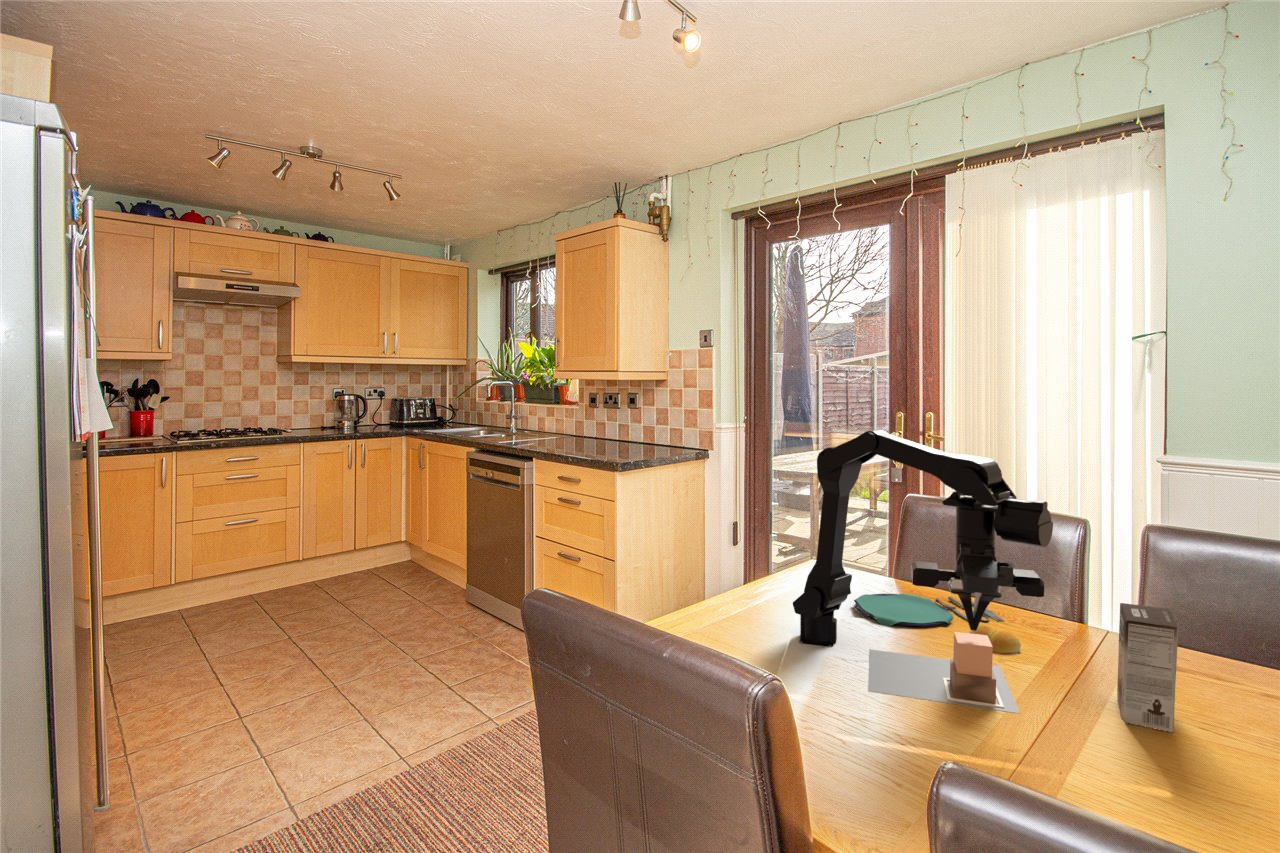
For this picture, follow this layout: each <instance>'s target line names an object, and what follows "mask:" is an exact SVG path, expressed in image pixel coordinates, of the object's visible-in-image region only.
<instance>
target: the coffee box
mask: <svg viewBox="0 0 1280 853" xmlns="http://www.w3.org/2000/svg"><path fill="white" fill-rule="evenodd" d="M1118 624H1119V626H1118V628H1119V629H1118V656H1117V658H1118V661H1117V686H1116V687H1117V689H1116V690H1117V691H1116V692H1117V693H1116V694H1117V696H1116V698H1117V702H1118V707H1119V712H1120V718H1121V720H1122V722H1123V723H1124V722H1125V723H1124V724H1128V723H1130V725H1133V724H1135V725H1134V726H1137V725H1141V726H1140V727H1142V726H1146V727H1145V728H1147V727H1151V728H1150V729H1152V728H1156V729H1160V730H1159V731H1161V730H1165V731H1164V732H1166V731H1169V732H1168V733H1171V732H1173V733H1174V731H1175V730H1174V726H1175V703H1176V700H1175V699H1176V682H1177V681H1176V680H1177V661H1178V642H1179V640H1178V638H1179V626H1178V624H1177V622H1176V620H1175V618H1174V615H1173V614H1172V612H1171V609H1170V608H1164V607H1158V606H1157V607H1156V606H1155V607H1154V606H1149V605H1141V604H1131V603H1123V602H1122V603H1121V602H1120V603H1119V622H1118ZM1156 729H1155V730H1156Z"/></svg>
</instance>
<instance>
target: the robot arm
mask: <svg viewBox="0 0 1280 853" xmlns="http://www.w3.org/2000/svg"><path fill="white" fill-rule="evenodd" d="M876 456H881V457H882V458H886V459H889V460H891V461H894V462H897V463H899V464H901V465H902V464H903V465H905V466H908V467H911V468H914V469H917V470H919V471H922V472H924V473H927V474H930V475H932V476H933V477H935V478H937V479H938V480H939V481H940V482H942V484H944V485H945V486H946V487H949V488H950V489H952V490H954V491H953V492H952V493H951V494H950V496H948V497H947V498H945V499H944V500H942V502H941V503H942V505H943V506H949V507H954V508H955V540H954V542H955V545H954V546H955V549H954V550H955V551H954V569H943V568H939V567H938V563H937V562H931V561H922V560H921V561H918V560H915V561H913V563H911V567H910V568H911V570H910V573H911V574H910V577H911V583H912V585H914V586H915V587H927V588H935V587H936V586H937V585H939V584H940V582H947V585H948V589H949V591H950V594H953V595H957V596H958V598H959V600H960V603H962V604H963V607H964V608H963V607H962V608H963V610H964V613H965V614H964V615H965V616H966V617H967V620H968V621H967V620H966V621H967V623H968V626H969V629H970V630H969V631H971V630H974V631H976V630H977V628H978V625H980V624H981V622H982V621H981V619H982V618H983V614H984V612H985V610H986V609H988V606H989V605H990V603H991V602H992V601H993V600H994V599H1001V598H1002V596H1003V595H1002V592H1001V589H1002V587H1005V588H1015V591H1017V593H1019V595H1021V596H1024V597H1034V598H1035V597H1036V598H1043V597H1045V582H1044V580H1043V579H1042V578H1041V577H1040V575H1039V574H1038V573H1037V572H1036V571H1035V570H1032V569H1031V570H1030V569H1022V568H1021V569H1018V568H1014V566H1013V562H1009V561H997V558H996V536H999V537H1000V539H1002V540H1003V541H1004V542H1011V543H1015V544H1023V545H1029V546H1036V547H1041V548H1046V547H1047V546H1048V545H1049V544H1050V542H1051V539H1052V536H1053V530H1054V521H1053V520H1052V516H1051V513H1050V510H1048V505H1049V504H1048V501H1044V500H1026V499H1025V500H1024V499H1018V497H1017V496H1016V494H1015V492H1014V491H1012V489H1011V487H1010V486H1009V484H1007V482H1006V481H1005V479H1004V478H1003V474H1002V470H1001V468H1000V466H999V464H998V462H996V461H995V460H994V459H992V458H989V457H984V456H979V455H970V454H963V453H962V454H961V453H951V452H946V451H942V450H939V449H936V448H934V447H929V446H926V445H924V444H921V443H917V442H915V441H912V440H909V439H906V438H903V437H900V436H897V435H893V434H891V433H888V432H887V431H885V430H884V429H883V430H882V429H873V430H867V431H864V432H863V433H861V434H860V435H858V436H856V437H855V438H853V439H850V440H847V441H845V442H843V443H842V444H839V445H837V446H832V447H831V446H830V447H825V448H824V449H823V450H822V451H820V452H819V453H818V454H817V458H816V470H817V471H816V473H817V475H816V476H817V479H818V481H819V482H818V483H819V484H820V487H821V489H822V501H821V511H820V512H821V513H820V520H819V530H818V542H817V552H816V560H815V563H814V565H813V566H812V568H811V569H810V571H809V573H808V575H807V579H806V581H805V586H804V588H803V589H804V590H803V593H802V594H800V596H798V597H797V598H796V599H794V601H792V607H793V609H794V614H797V615H799V616H800V617H799V618H800V621H799V622H800V623H799V624H800V625H799V626H800V627H799V629H800V631H799V632H800V635H799V636H800V638H799V640H798V643H799V644H802V645H803V644H804V645H809V646H810V645H811V646H812V645H813V646H818V647H819V646H820V647H826V648H833V647H834V644H836V643H837V639H838V638H837V637H838V619H837V618H835V611H839V610H840V608H841V606H842V603H844V602H845V601H846V600H847V598H848V596H849V595H851V594H852V590H851V582H852V579H853V575H852V574H851V573H846V571H845V569H844V565H843V557H844V547H845V538H846V527H847V521H848V520H847V519H848V509H849V500H850V495H851V494H850V493H851V491H852V489H853V488H854V486H855V484H856V483H857V481H858V480H859V477H860V476H859V475H860V473H861V469H862V466H863V464H866V463H867V462H870V460H872V459H873V458H875V457H876ZM972 594H975V595H974V601H972ZM971 601H972V602H974V606H972V602H971ZM982 620H983V619H982Z"/></svg>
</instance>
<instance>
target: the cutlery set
mask: <svg viewBox="0 0 1280 853" xmlns="http://www.w3.org/2000/svg"><path fill="white" fill-rule="evenodd" d="M947 598H948V599H947V600H949V601H951V602H953V603H955V604H956V605H958V606H960V607H961V608H963V609H964V607H963V604H962V602H961V601H959V600H958V599H956V598H955V597H953V596H947ZM935 601H936V602H935ZM935 601H933V600H932V599H930V598H927V597H924V596H923V597H922V596H919V595H915V594H908V593H871V594H868V593H867V594H863V595H861V596H859V597H857V598H855V599H854V603H855V608H857V609H858V611H859V612H861V613H862V614H864V615H865V616H867V617H870V618H872V619H875V620H876V621H877V622H878V623H879V625H883V626H888V627H892V626H894V625H898V626H899V625H900V626H901V625H902V626H908V627H931V626H932V627H933V626H939V625H942V624H944V625H948V624H949V623H951V622H953V620H954V615H953V613H952V612H954V613H955V614H956V615H957V616H959V617H961V618H962V619H964V620H965V621H966V622H968V620H967V617H966V614H964V613H962V612H960V611H958V610H957V607H956V606H953V605H950V604H948V603H946V602H944V601H942V600H941V599H939V597H936V598H935ZM937 602H940V603H941V604H939V603H937ZM971 602H972V607H974V601H972V600H971ZM942 604H943V605H945V606H946V607H947V608H946V607H945V606H943V605H942ZM982 618H985V620H984V619H981V621H980V622H987V621H990V618H991V619H992V620H994V621H996V622H998V623H999V622H1005V620H1004V619H1002V618H1000V617H999V615H997V614H996V613H994V612H993V610H989V609H988V608H986V610H985V612H984V614H983V616H982Z"/></svg>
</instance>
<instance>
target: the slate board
mask: <svg viewBox="0 0 1280 853" xmlns="http://www.w3.org/2000/svg"><path fill="white" fill-rule="evenodd" d="M868 660H869V661H868V664H869V665H868V666H869V667H868V685H867V686H868V689H867V690H868V692H871V693H877V694H883V695H890V696H897V697H903V698H911V699H918V700H926V701H933V702H937V703H944V704H950V705H951V704H952V705H958V706H959V705H960V706H966V707H973V708H979V709H984V710H985V709H987V710H992V711H998V712H999V711H1000V712H1006V713H1012V714H1021V713H1020V710H1019V708H1018V706H1017V703H1016V701H1015V699H1014V696H1013V694H1012V692H1011V690H1010V687H1009V685H1008V682H1007V680H1006V678H1005V676H1004V673H1003V671H1002V668H1001V666H1000V665H997V664H992V670H993V673H994V675H995V678H996V704H991V703H984V702H977V701H970V700H963V699H956V698H954V697H953V693H952V689H951V684H950V658H942V657H941V658H940V657H934V656H926V655H925V656H924V655H917V654H910V653H909V654H908V653H902V652H893V651H887V650H886V651H885V650H878V649H869V659H868Z"/></svg>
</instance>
